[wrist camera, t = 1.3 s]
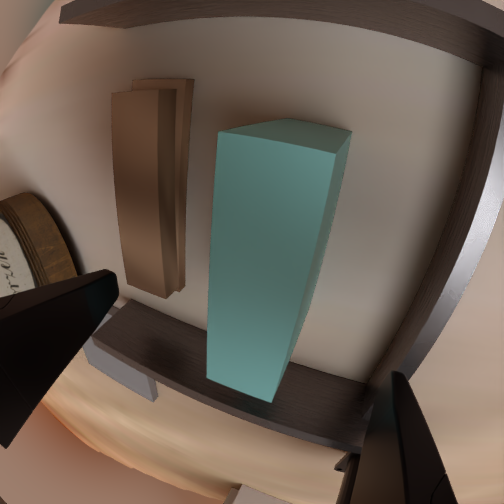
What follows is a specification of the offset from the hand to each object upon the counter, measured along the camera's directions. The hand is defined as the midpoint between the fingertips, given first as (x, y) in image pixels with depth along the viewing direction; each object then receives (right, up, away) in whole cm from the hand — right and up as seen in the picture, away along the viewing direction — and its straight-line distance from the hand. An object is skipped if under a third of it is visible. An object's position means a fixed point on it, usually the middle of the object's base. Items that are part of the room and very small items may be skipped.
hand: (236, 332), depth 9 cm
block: (+3, +4, +7) cm, 8 cm away
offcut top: (-5, +6, +8) cm, 11 cm away
